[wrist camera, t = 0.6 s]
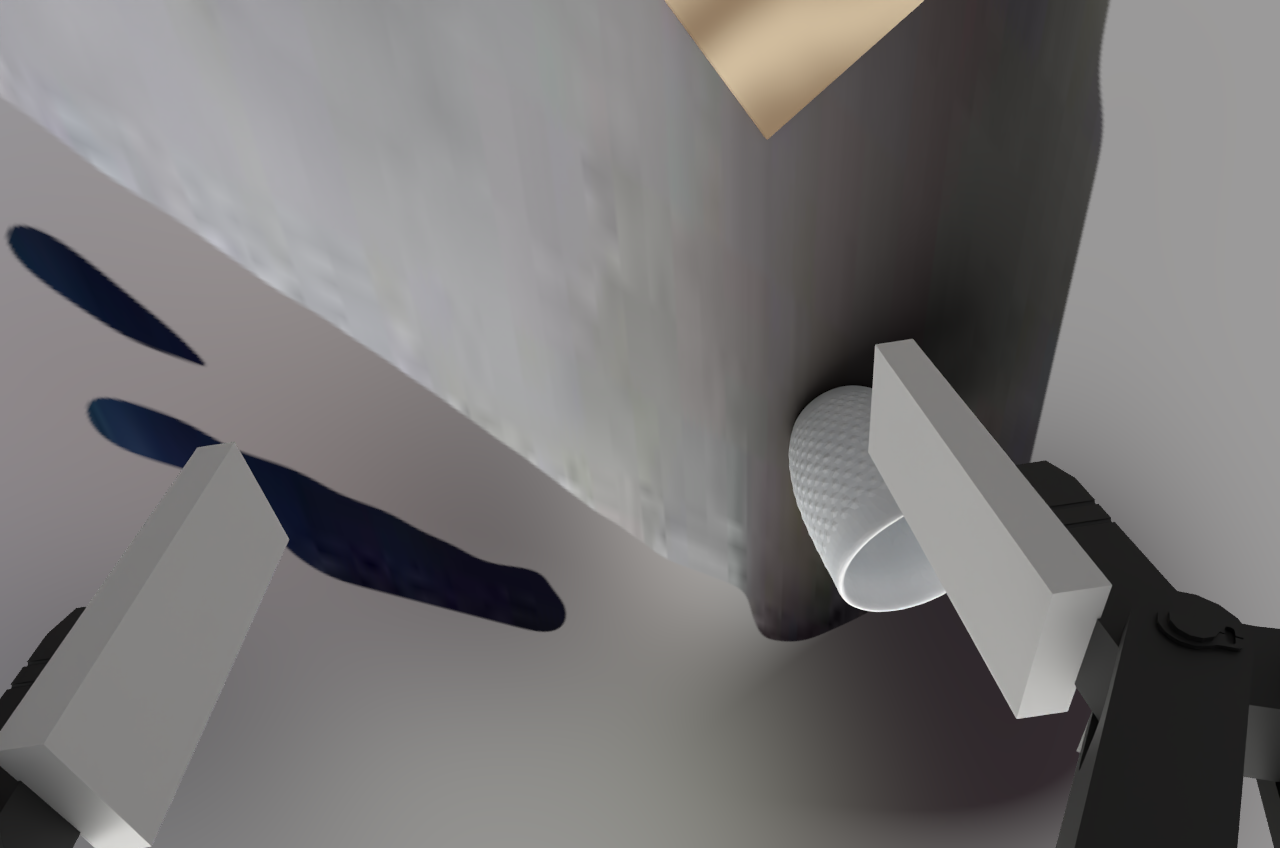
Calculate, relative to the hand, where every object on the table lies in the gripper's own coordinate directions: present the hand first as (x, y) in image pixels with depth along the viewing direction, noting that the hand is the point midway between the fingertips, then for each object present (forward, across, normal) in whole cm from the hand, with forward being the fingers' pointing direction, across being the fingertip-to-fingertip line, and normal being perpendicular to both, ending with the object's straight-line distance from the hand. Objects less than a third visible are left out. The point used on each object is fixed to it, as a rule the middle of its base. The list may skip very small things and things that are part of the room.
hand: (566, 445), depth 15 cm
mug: (+31, +16, -24) cm, 43 cm away
